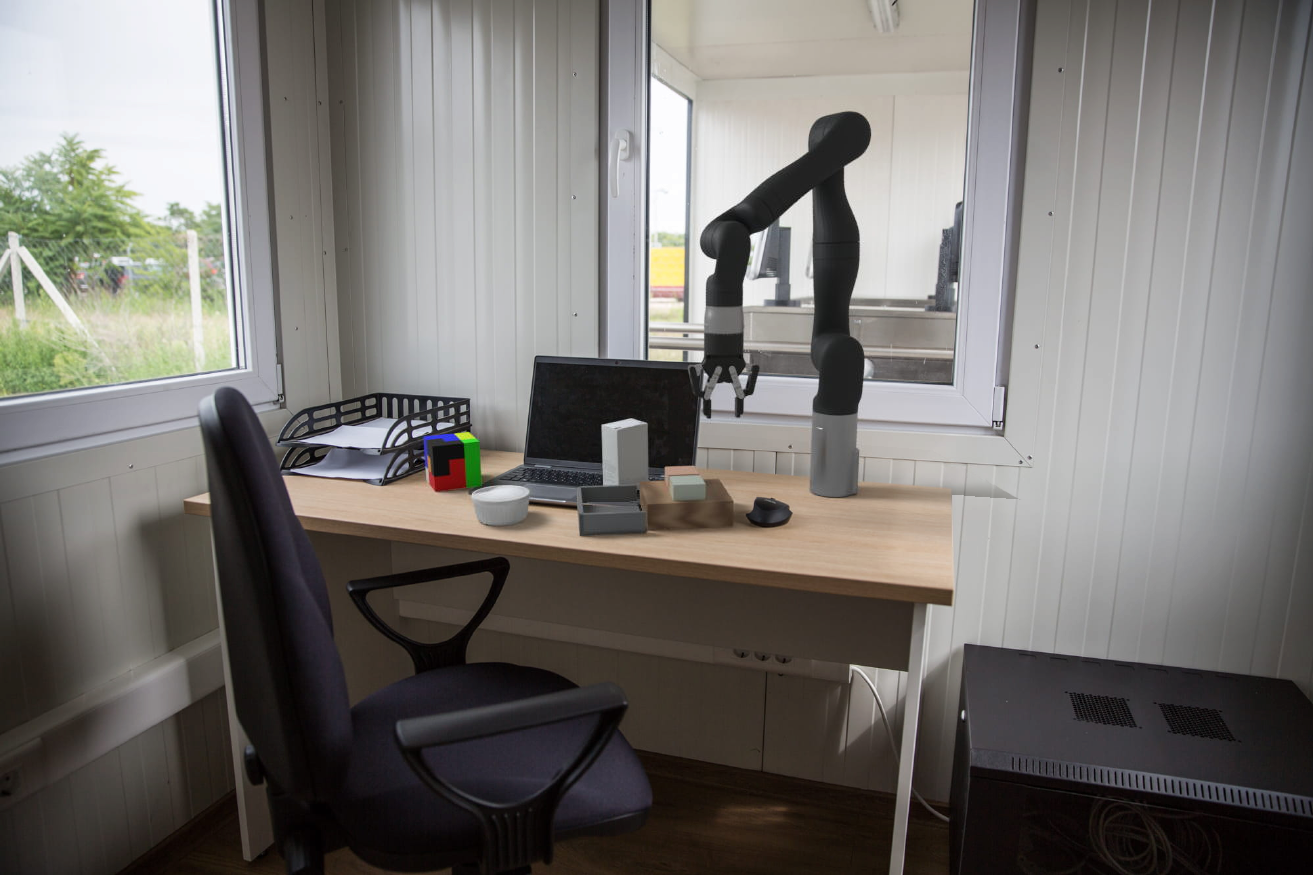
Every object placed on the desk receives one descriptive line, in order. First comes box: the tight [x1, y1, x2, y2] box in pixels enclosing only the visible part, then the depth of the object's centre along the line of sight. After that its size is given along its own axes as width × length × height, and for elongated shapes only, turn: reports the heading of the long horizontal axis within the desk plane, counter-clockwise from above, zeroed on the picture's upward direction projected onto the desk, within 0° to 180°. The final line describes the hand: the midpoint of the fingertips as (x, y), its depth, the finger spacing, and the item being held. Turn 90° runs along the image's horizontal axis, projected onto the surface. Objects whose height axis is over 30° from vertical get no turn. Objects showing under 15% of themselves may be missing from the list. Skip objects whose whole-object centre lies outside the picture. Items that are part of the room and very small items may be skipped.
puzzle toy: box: [423, 431, 483, 493], centre depth 190 cm, size 10×10×10 cm
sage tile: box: [669, 475, 706, 501], centre depth 164 cm, size 6×6×3 cm
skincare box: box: [601, 418, 649, 490], centre depth 183 cm, size 8×6×15 cm
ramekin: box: [471, 484, 531, 527], centre depth 167 cm, size 11×11×5 cm
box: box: [576, 484, 647, 537], centre depth 167 cm, size 12×18×4 cm, turn 6°
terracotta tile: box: [664, 465, 700, 490], centre depth 171 cm, size 6×6×3 cm
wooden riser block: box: [639, 478, 735, 531], centre depth 168 cm, size 16×15×5 cm
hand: (722, 417), depth 169 cm, fingers open, 5 cm apart
